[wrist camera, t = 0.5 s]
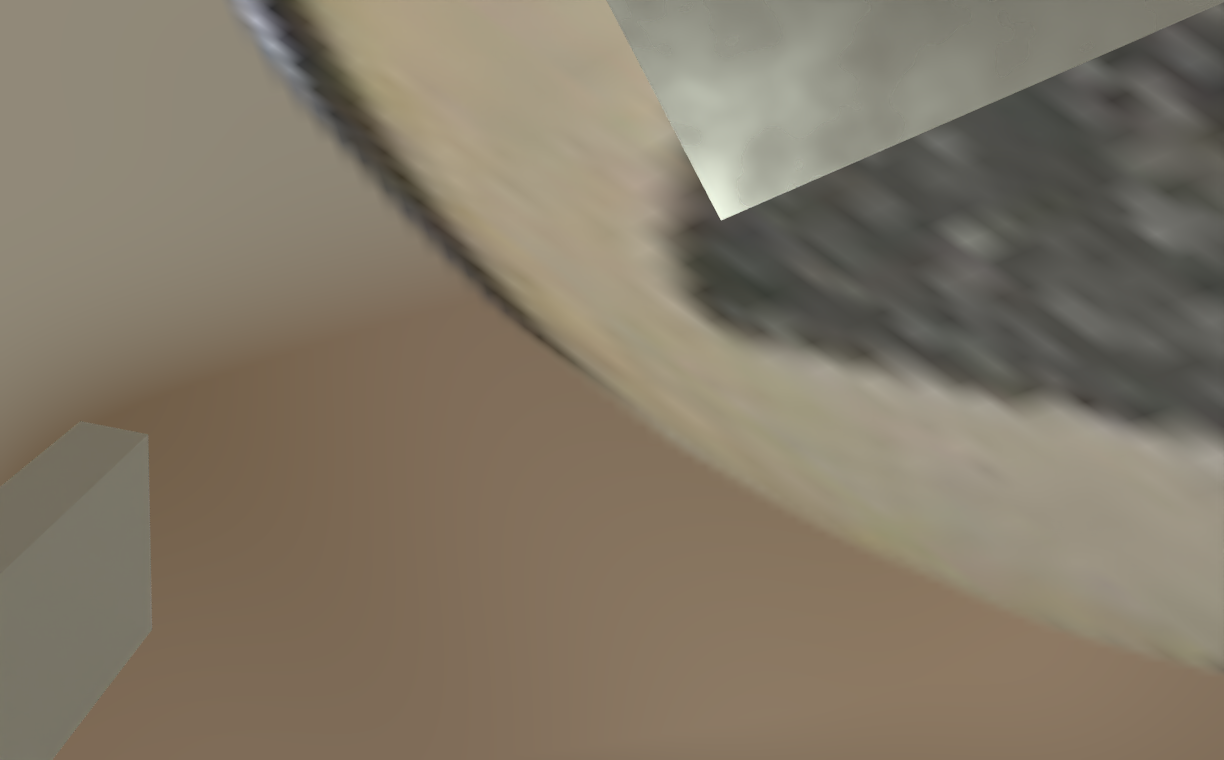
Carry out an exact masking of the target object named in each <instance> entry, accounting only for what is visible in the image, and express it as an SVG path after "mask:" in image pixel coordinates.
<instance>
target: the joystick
mask: <svg viewBox="0 0 1224 760" xmlns="http://www.w3.org/2000/svg"><path fill="white" fill-rule="evenodd" d="M607 2H608V4H609V6H610V8H611V10H612V12H613V14H614V16H615V17H616V19H617V21H618V23H619V25H620V27H621V29H622V31H623V33H624V35H625V37H626V39H627V41H628V42H629V44H630V46H631V48H632V50H633V52H634V54H635V56H636V58H637V60H638V62H639V64H640V66H641V67H642V69H643V71H644V73H645V75H646V77H647V79H648V81H649V83H650V85H651V87H652V89H653V91H654V92H655V94H656V96H657V98H658V100H659V102H660V104H661V106H662V108H663V110H664V112H665V114H666V116H667V117H668V119H669V121H670V123H671V125H672V127H673V129H674V131H675V133H676V135H677V137H678V139H679V140H680V142H681V144H682V146H683V148H684V150H685V152H686V154H687V156H688V158H689V160H690V162H691V164H692V165H693V167H694V169H695V171H696V173H697V175H698V177H699V179H700V181H701V183H702V185H703V187H704V189H705V190H706V192H707V194H708V196H709V198H710V200H711V202H712V204H713V206H714V208H715V210H716V212H717V214H718V215H719V217H720V219H721V220H723V219H725V218H727V217H730V216H732V215H734V214H737V213H739V212H741V211H744V210H746V209H748V208H751V207H753V206H755V205H757V204H760V203H762V202H764V201H767V200H769V199H771V198H774V197H776V196H778V195H780V194H783V193H785V192H787V191H790V190H792V189H794V188H797V187H799V186H801V185H804V184H806V183H808V182H810V181H813V180H815V179H817V178H820V177H822V176H824V175H827V174H829V173H831V172H833V171H836V170H838V169H840V168H843V167H845V166H847V165H850V164H852V163H854V162H857V161H859V160H861V159H863V158H866V157H868V156H870V155H873V154H875V153H877V152H880V151H882V150H884V149H886V148H889V147H891V146H893V145H896V144H898V143H900V142H903V141H905V140H907V139H910V138H912V137H914V136H916V135H919V134H921V133H923V132H926V131H928V130H930V129H933V128H935V127H937V126H939V125H942V124H944V123H946V122H949V121H951V120H953V119H956V118H958V117H960V116H963V115H965V114H967V113H969V112H972V111H974V110H976V109H979V108H981V107H983V106H986V105H988V104H990V103H992V102H995V101H997V100H999V99H1002V98H1004V97H1006V96H1009V95H1011V94H1013V93H1016V92H1018V91H1020V90H1022V89H1025V88H1027V87H1029V86H1032V85H1034V84H1036V83H1039V82H1041V81H1043V80H1045V79H1048V78H1050V77H1052V76H1055V75H1057V74H1059V73H1062V72H1064V71H1066V70H1069V69H1071V68H1073V67H1075V66H1078V65H1080V64H1082V63H1085V62H1087V61H1089V60H1092V59H1094V58H1096V57H1098V56H1101V55H1103V54H1105V53H1108V52H1110V51H1112V50H1115V49H1117V48H1119V47H1121V46H1124V45H1126V44H1128V43H1131V42H1133V41H1135V40H1138V39H1140V38H1142V37H1145V36H1147V35H1149V34H1151V33H1154V32H1156V31H1158V30H1161V29H1163V28H1165V27H1168V26H1170V25H1172V24H1174V23H1177V22H1179V21H1181V20H1184V19H1186V18H1188V17H1191V16H1193V15H1195V14H1198V13H1200V12H1202V11H1204V10H1207V9H1209V8H1211V7H1214V6H1216V5H1218V4H1221V3H1223V2H1224V0H607Z"/></svg>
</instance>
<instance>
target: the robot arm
mask: <svg viewBox="0 0 1224 760" xmlns="http://www.w3.org/2000/svg"><path fill="white" fill-rule="evenodd" d="M148 456H149V453H148V434H143V433H138V432H133V431H128V430H122V429H118V428H112V427H107V426H102V425H97V424H92V423H86V422H81V421H80V422H79V423H78V424H77V425H75V426H74V427H73V428H72V429H70V430H69V431H68V432H67V433H65V434H64V435H63V436H62V437H61V438H59V439H58V440H57V441H56V442H54V443H53V444H52V445H51V446H50V447H48V448H47V449H46V450H45V451H44V452H42V453H41V454H40V455H39V456H37V457H36V458H35V459H34V460H32V461H31V462H30V463H29V464H28V465H26V466H25V467H24V468H23V469H21V470H20V471H19V472H18V473H16V474H15V475H14V476H13V477H12V478H10V479H9V480H8V481H7V482H5V483H4V484H3V485H2V486H1V487H0V760H53V758H54V757H55V756H56V754H57V753H58V752H59V750H60V749H61V748H62V747H63V745H64V744H65V743H66V741H67V740H68V738H69V737H70V736H71V735H72V733H73V732H74V731H75V729H76V728H77V727H78V726H79V724H80V723H81V722H82V720H83V719H84V718H85V716H86V715H87V714H88V712H89V711H90V710H91V709H92V707H93V706H94V705H95V703H96V702H97V701H98V699H99V698H100V697H101V696H102V694H103V693H104V692H105V690H106V689H107V687H108V686H109V685H110V684H111V682H112V681H113V680H114V679H115V677H116V676H117V675H118V673H119V672H120V671H121V669H122V668H123V667H124V665H125V664H126V663H127V661H128V660H129V659H130V658H131V656H132V655H133V654H134V652H135V651H136V649H137V648H138V647H139V646H140V644H141V643H142V642H143V641H144V639H145V638H146V636H147V635H148V634H149V633H150V631H151V630H152V610H151V609H152V607H151V558H150V508H149V506H150V505H149V460H148V459H149V457H148Z"/></svg>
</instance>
